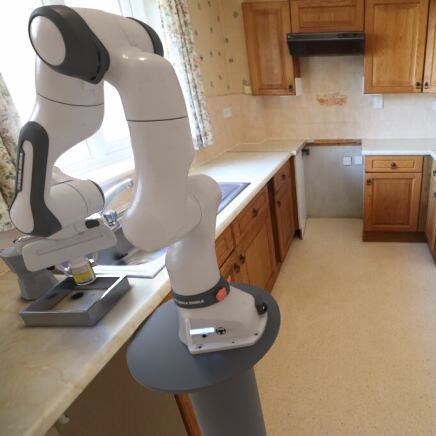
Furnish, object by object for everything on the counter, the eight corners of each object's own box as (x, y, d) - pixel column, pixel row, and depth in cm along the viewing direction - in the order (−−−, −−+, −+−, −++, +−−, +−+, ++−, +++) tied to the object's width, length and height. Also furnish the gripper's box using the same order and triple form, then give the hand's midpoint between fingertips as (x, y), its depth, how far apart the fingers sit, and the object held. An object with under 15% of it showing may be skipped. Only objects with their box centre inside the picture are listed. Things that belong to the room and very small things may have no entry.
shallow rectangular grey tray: (130, 286, 100) (126, 274, 98) (93, 325, 84) (87, 312, 83) (72, 287, 100) (67, 275, 98) (25, 326, 85) (18, 312, 83)
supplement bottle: (84, 275, 94) (74, 251, 91) (100, 275, 94) (90, 250, 90) (72, 285, 90) (60, 260, 86) (88, 285, 90) (77, 260, 86)
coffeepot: (7, 301, 95) (-23, 248, 88) (33, 282, 104) (8, 233, 96) (58, 299, 95) (32, 246, 87) (80, 280, 104) (58, 231, 96)
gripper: (11, 244, 76) (35, 291, 82) (109, 217, 89) (124, 260, 94) (10, 235, 80) (33, 281, 86) (104, 211, 93) (119, 252, 99)
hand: (82, 270), depth 90 cm, fingers closed on supplement bottle, 5 cm apart
